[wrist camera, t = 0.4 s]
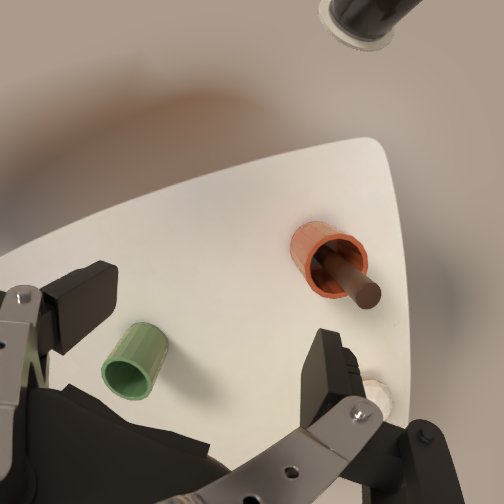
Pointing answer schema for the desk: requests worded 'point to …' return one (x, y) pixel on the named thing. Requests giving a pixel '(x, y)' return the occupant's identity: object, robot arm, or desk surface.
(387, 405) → the geometric ball
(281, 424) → the desk surface
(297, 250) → the terracotta cup
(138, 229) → the desk surface
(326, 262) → the muddler
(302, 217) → the desk surface
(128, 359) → the green cup
